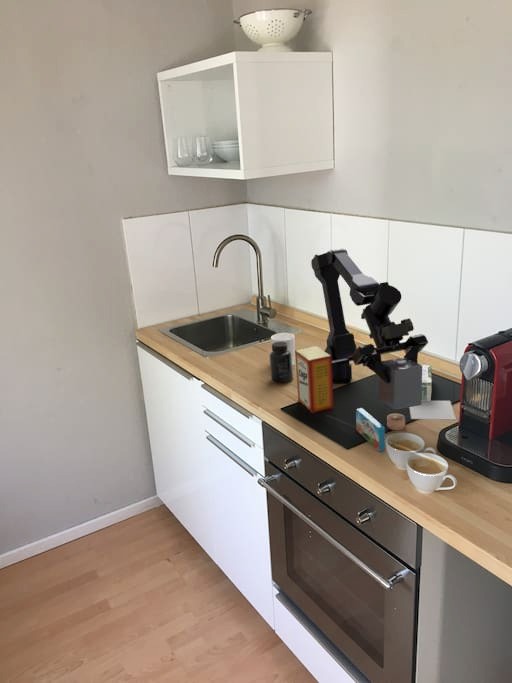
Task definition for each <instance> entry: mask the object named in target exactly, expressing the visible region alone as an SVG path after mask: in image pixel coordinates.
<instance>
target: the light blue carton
mask: <svg viewBox="0 0 512 683" xmlns="http://www.w3.org/2000/svg"><path fill="white" fill-rule="evenodd" d="M355 422H356V423H355V426H356V431H357V432H358V433H359V434H360V435H361V436H362V437H363V438H364V439H365V440H366V441H367V442H368V443H369V444H370V445H372V447H374V449H376V450H377V451H378V452H382V451H385V450H386V428H385V426H384V425H383V424H381V422H379V421H378V420H377V419H376V418H374V417H373V416H372V415H371V414H370V413H368V411H366V410H365V409H364V408H363V407H359V408H356V409H355Z"/></svg>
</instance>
